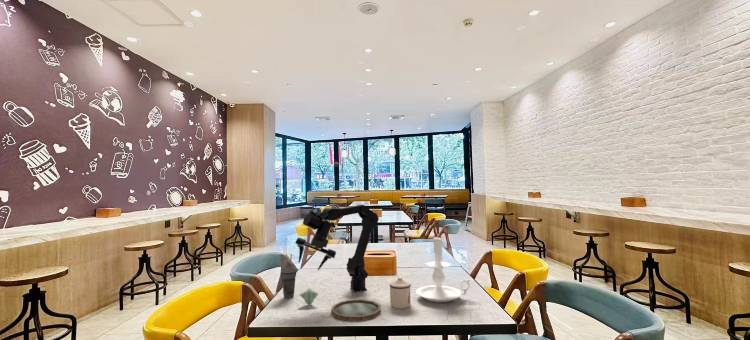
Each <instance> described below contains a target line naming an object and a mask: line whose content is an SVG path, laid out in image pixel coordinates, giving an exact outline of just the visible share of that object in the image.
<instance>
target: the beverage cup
mask: <svg viewBox="0 0 750 340" xmlns="http://www.w3.org/2000/svg"><path fill="white" fill-rule="evenodd" d="M292 257H293V254H292V253H290V258H289V259H290V260H289V262H287V263H285V264H284V265H283V266H282V267H281V272H280V275H281V279H282V280H281V281H282V294H283V299H293V298H294V297H295V288H296V286H295V285H296V277H297V273H298V272H297V267H296V265H295V264H294V263H292Z"/></svg>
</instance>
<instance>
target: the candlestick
mask: <svg viewBox="0 0 750 340" xmlns="http://www.w3.org/2000/svg"><path fill="white" fill-rule="evenodd" d="M433 253H434V261H428V262H425V265H426V266H427V267H431V268H433V269H434V271H433V273H432V274H431V278H432V281H433V283H435V285H434V284H433V285H425V286H421V287H418V288H417V289H416V290H415V293H416V294H417V295H418V296H419V297H421V298H423V299H424V300H427V301H430V302H434V303H435V302H436V303H446V302H452V301H454V300H456V299H457V298H460V297H462V296H463V295H464V296H465V295H466V294H467V291H468V290H469V288H470V281H471V279H462V280H461V281H459V285H458V286H459V288H460V289H461V290H460V289H458V288H456V287H452V286H448V285H447V286H446V285H442V284H443V283H444V282H445V279H446V276H445V273H444V272H443V269H444V268H447V267H450V266H451V265H452V264H451V263H449V262H446V261H442V260H443V238H441V237H439V236H438V237H437V236H435V237H433ZM463 283H467V286H466V287H465V288H464V287H462V284H463ZM462 291H463V292H462Z"/></svg>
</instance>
